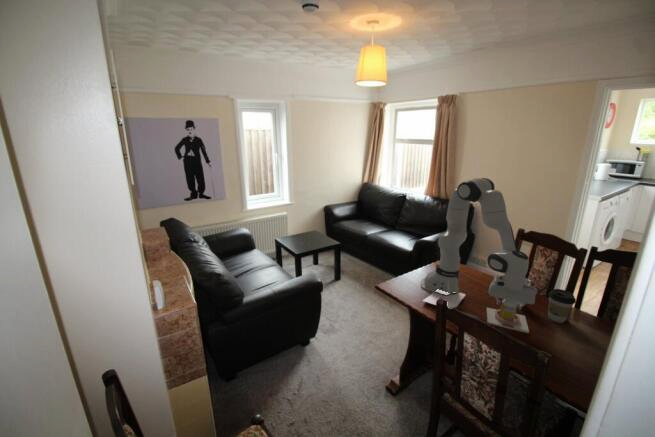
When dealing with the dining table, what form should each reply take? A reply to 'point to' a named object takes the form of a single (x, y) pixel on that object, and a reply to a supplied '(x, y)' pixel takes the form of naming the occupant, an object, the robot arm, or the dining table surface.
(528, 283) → the beer glass
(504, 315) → the supplement bottle
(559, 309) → the coffee cup
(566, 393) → the dining table surface
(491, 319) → the ring socket
